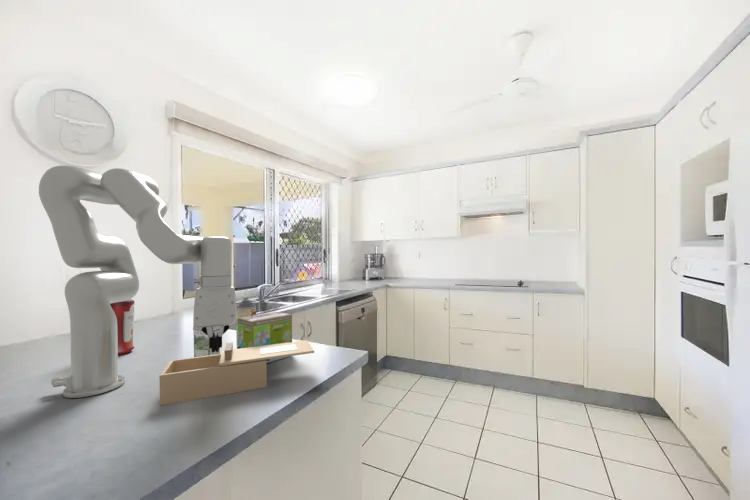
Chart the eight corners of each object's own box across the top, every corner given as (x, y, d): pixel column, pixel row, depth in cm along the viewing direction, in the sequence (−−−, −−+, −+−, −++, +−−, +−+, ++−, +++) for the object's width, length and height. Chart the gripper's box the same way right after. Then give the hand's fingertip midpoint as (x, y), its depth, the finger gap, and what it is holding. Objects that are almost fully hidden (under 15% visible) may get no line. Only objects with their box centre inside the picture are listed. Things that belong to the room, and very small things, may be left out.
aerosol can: (255, 353, 113) (254, 297, 113) (234, 355, 111) (233, 298, 112) (258, 348, 120) (257, 295, 120) (238, 349, 118) (237, 296, 118)
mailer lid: (218, 366, 79) (218, 353, 80) (222, 352, 91) (222, 341, 91) (314, 352, 88) (313, 341, 89) (306, 342, 100) (306, 332, 100)
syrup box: (220, 360, 106) (220, 317, 107) (210, 366, 100) (209, 321, 101) (204, 360, 107) (204, 317, 107) (193, 366, 101) (192, 321, 101)
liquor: (115, 351, 120) (114, 277, 121) (138, 348, 123) (137, 276, 123) (105, 356, 113) (105, 278, 114) (130, 354, 116) (129, 278, 116)
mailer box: (159, 405, 75) (159, 375, 75) (171, 386, 86) (170, 360, 86) (266, 387, 84) (266, 360, 84) (264, 371, 95) (264, 348, 95)
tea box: (254, 369, 98) (253, 321, 98) (236, 362, 104) (236, 317, 104) (293, 355, 110) (292, 313, 110) (275, 351, 116) (275, 310, 116)
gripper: (181, 284, 79) (180, 358, 79) (246, 282, 84) (245, 351, 84) (186, 282, 86) (186, 350, 85) (246, 280, 91) (245, 344, 91)
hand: (215, 350), depth 85 cm, fingers closed
